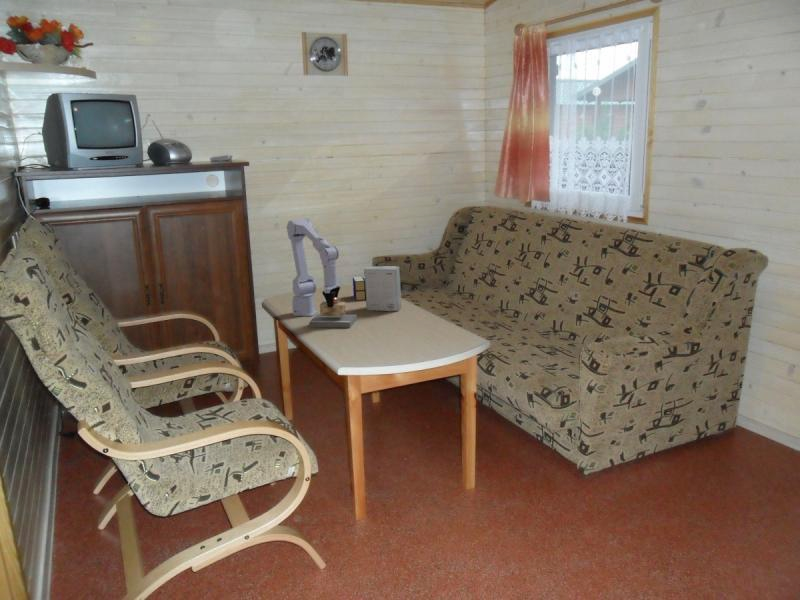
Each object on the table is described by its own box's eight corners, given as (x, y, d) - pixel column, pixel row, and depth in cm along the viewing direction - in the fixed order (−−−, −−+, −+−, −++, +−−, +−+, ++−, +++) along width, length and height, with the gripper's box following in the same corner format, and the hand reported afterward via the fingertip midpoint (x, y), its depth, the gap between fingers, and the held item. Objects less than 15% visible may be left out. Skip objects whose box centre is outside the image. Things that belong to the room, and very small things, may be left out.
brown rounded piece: (327, 304, 281) (326, 298, 280) (329, 302, 285) (329, 296, 284) (335, 304, 280) (335, 299, 280) (338, 302, 284) (338, 296, 283)
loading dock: (309, 327, 280) (309, 321, 280) (317, 319, 292) (317, 313, 291) (350, 327, 278) (349, 322, 277) (356, 319, 289) (356, 314, 288)
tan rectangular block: (320, 315, 282) (319, 304, 281) (323, 312, 287) (323, 301, 286) (342, 316, 280) (342, 305, 279) (345, 312, 286) (345, 302, 284)
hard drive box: (401, 307, 307) (400, 266, 302) (397, 311, 300) (395, 269, 295) (370, 306, 311) (368, 265, 306) (365, 310, 304) (363, 269, 299)
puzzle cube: (353, 296, 332) (352, 277, 329) (372, 294, 334) (371, 275, 331) (355, 300, 322) (354, 281, 320) (375, 299, 324) (374, 279, 322)
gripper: (335, 278, 272) (337, 309, 275) (343, 271, 285) (345, 301, 289) (319, 278, 273) (321, 309, 276) (328, 271, 287) (329, 300, 290)
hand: (332, 305), depth 283 cm, fingers closed on tan rectangular block, 6 cm apart
